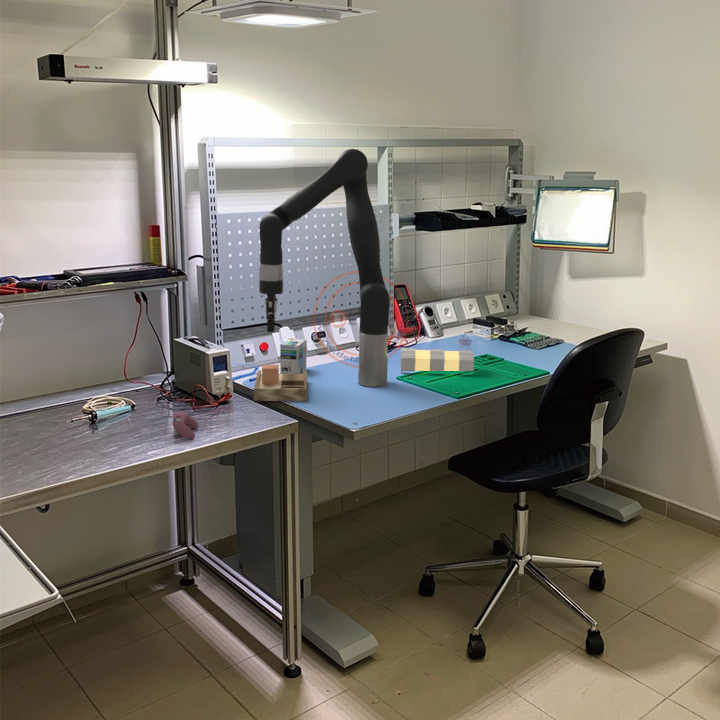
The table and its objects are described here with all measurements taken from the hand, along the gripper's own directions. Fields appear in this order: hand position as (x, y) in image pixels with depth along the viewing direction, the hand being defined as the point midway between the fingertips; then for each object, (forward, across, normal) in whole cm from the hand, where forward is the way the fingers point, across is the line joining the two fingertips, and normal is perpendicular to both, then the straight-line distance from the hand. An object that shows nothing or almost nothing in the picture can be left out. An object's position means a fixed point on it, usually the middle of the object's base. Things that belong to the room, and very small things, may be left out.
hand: (271, 329), depth 260 cm
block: (+15, -8, 0) cm, 17 cm away
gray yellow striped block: (+18, +16, -57) cm, 62 cm away
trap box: (+18, -9, -4) cm, 20 cm away
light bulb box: (+18, +14, -7) cm, 24 cm away
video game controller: (+18, -50, +21) cm, 57 cm away
